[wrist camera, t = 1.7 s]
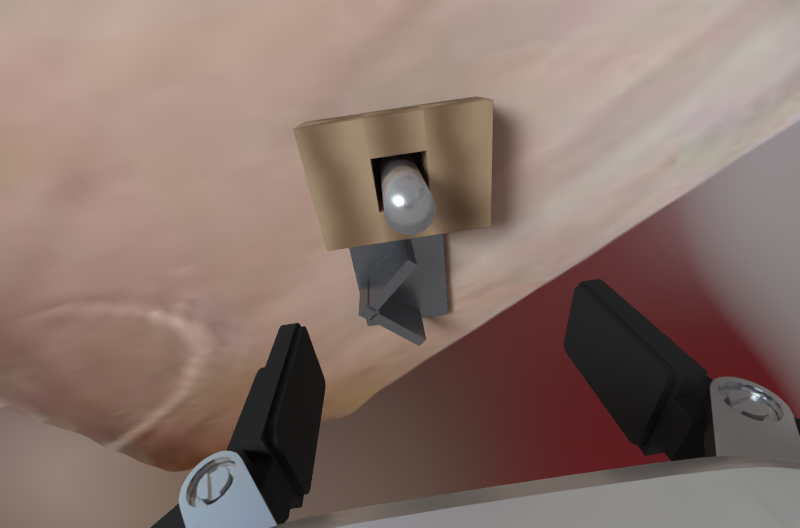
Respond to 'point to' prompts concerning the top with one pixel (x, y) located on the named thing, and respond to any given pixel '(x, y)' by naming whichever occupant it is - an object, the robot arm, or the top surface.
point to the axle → (405, 195)
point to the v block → (402, 284)
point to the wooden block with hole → (393, 135)
